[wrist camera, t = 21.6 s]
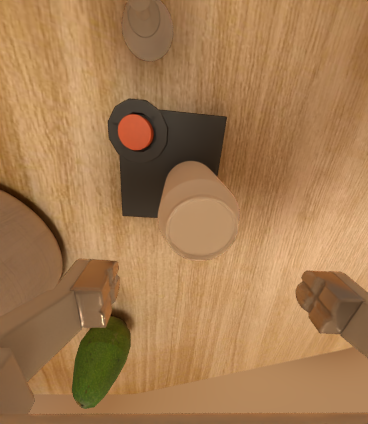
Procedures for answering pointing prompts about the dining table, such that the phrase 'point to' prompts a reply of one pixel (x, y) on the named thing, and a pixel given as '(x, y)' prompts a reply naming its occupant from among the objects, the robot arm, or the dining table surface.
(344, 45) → the dining table surface
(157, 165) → the scale
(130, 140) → the button
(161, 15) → the chalice
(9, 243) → the planter
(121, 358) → the avocado
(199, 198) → the beverage can
